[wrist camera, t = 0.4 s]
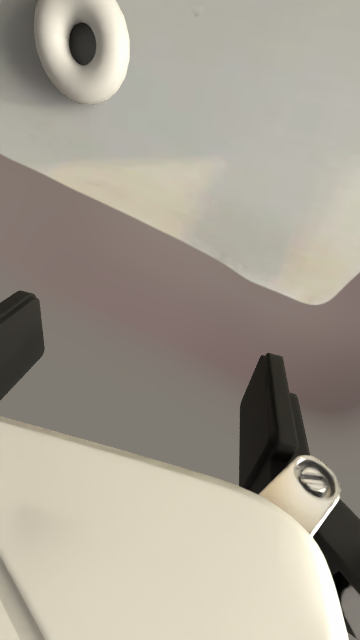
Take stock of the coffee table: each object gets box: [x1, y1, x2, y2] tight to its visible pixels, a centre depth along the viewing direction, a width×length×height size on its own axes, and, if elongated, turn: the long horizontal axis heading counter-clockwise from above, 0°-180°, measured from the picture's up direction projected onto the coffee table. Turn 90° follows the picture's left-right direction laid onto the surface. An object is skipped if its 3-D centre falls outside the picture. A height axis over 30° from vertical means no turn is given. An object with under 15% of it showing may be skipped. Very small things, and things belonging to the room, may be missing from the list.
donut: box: [34, 0, 130, 105], centre depth 30 cm, size 10×4×10 cm
